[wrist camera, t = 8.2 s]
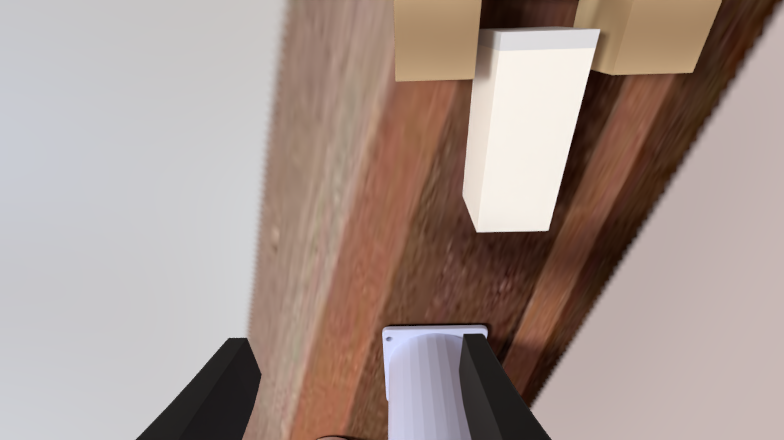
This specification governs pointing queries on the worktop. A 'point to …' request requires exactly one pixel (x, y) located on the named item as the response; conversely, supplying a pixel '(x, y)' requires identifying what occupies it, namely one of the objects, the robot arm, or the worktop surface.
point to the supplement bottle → (331, 438)
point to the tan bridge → (595, 11)
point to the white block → (523, 122)
